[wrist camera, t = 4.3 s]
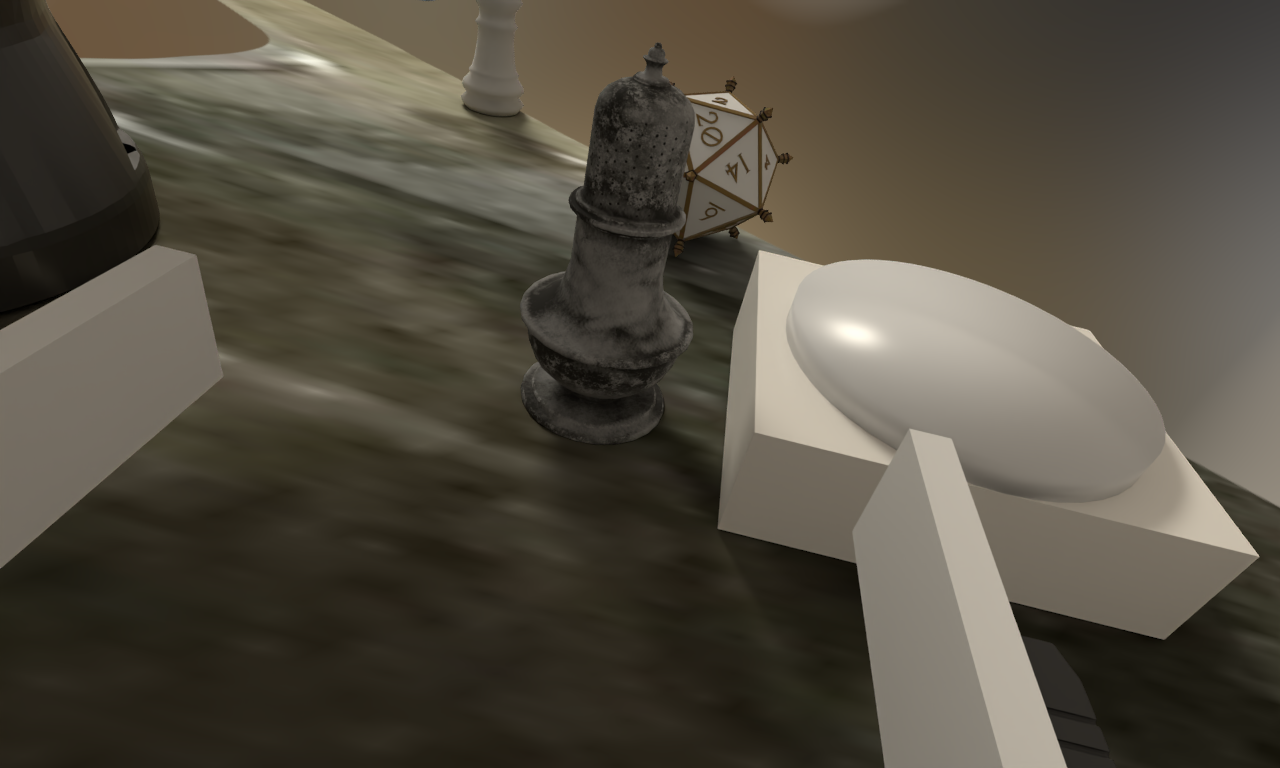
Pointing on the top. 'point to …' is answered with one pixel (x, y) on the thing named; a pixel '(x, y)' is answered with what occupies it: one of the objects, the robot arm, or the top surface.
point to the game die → (725, 166)
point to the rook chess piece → (494, 62)
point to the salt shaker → (615, 272)
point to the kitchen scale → (967, 437)
